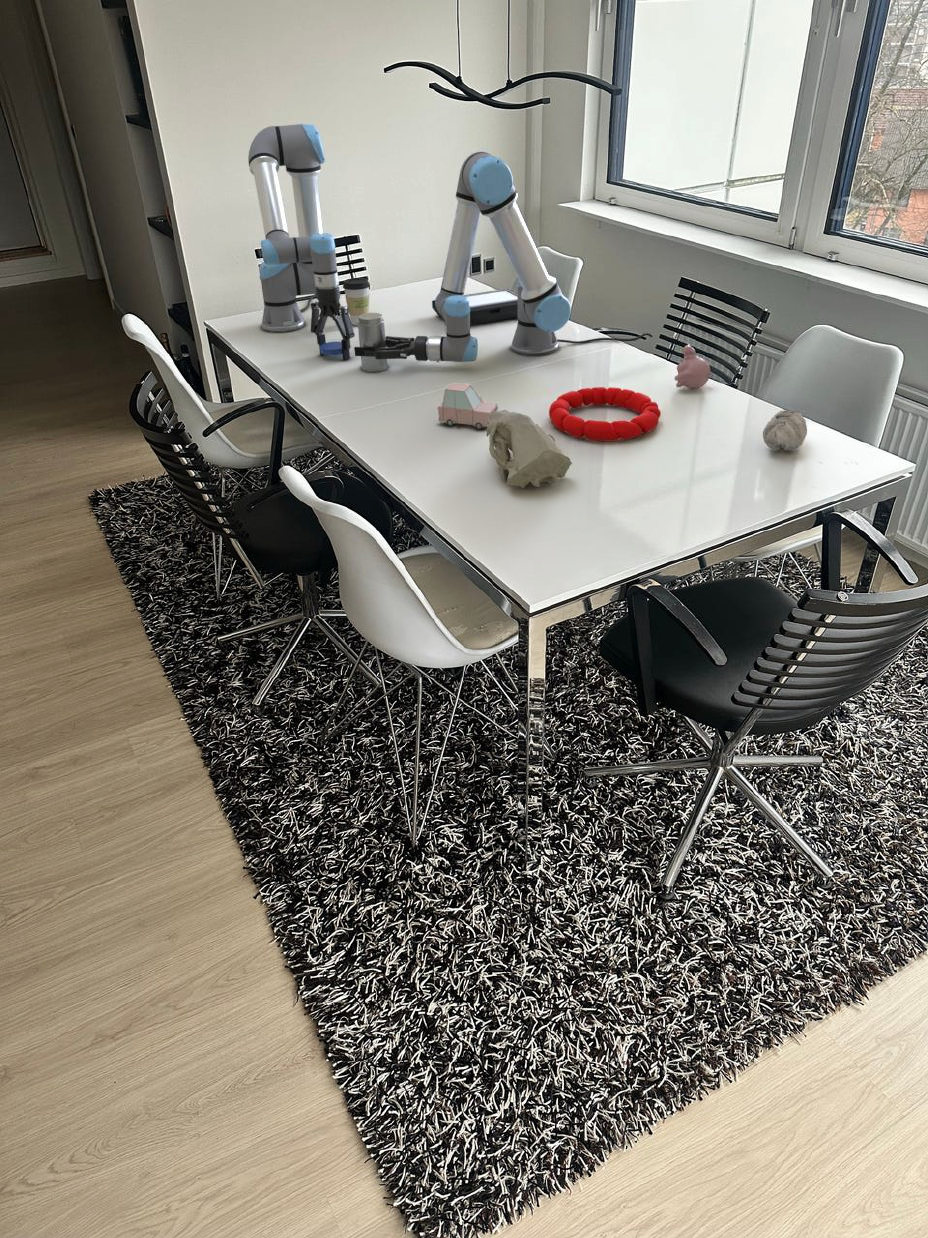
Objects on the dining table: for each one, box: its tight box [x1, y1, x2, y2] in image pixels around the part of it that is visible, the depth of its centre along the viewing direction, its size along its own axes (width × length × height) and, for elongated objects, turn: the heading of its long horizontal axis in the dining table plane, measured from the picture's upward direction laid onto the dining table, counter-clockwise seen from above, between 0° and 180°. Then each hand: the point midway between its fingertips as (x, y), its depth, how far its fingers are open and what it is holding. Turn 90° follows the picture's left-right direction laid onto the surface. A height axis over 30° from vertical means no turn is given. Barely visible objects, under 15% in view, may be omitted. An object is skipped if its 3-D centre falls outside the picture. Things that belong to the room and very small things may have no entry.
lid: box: [319, 340, 343, 356], centre depth 294 cm, size 9×9×2 cm
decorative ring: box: [548, 386, 661, 442], centre depth 242 cm, size 7×30×30 cm
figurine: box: [674, 344, 711, 390], centre depth 259 cm, size 9×11×12 cm
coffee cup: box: [342, 277, 371, 327], centre depth 323 cm, size 10×10×15 cm
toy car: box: [437, 382, 499, 431], centre depth 243 cm, size 9×15×10 cm, turn 70°
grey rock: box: [485, 409, 573, 489], centre depth 216 cm, size 17×25×20 cm
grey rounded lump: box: [762, 410, 808, 451], centre depth 223 cm, size 10×15×10 cm
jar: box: [357, 312, 388, 373], centre depth 282 cm, size 8×8×16 cm
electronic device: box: [431, 288, 518, 326], centre depth 328 cm, size 32×6×20 cm
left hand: (335, 356), depth 296 cm, fingers closed on lid, 9 cm apart
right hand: (358, 346), depth 283 cm, fingers closed on jar, 8 cm apart
